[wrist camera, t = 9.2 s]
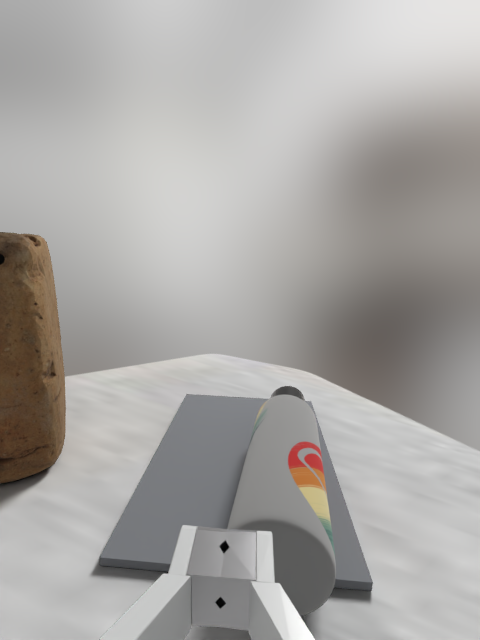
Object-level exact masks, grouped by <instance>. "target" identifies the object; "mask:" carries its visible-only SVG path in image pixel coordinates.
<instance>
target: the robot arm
mask: <svg viewBox="0 0 480 640" xmlns="http://www.w3.org/2000/svg"><path fill="white" fill-rule="evenodd" d="M191 626H208V627H222V628H230V629H238V630H246V631H249V635H250V637H251V640H315V639H314V637H313V636H312V634H311V632H310V631H309V629H308V628H307V626H306V625H305V623H304V621H303V620H302V618H301V617H300V615H299V613H298V612H297V610H296V609H295V607H294V605H293V604H292V602H291V601H290V599H289V597H288V596H287V594H286V593H285V591H284V590H283V588H282V586H281V585H280V583H275V577H274V557H273V536H272V532H270V531H256V530H239V529H221V528H211V527H202V526H189V525H183V526H182V528H181V530H180V533H179V537H178V540H177V544H176V547H175V551H174V554H173V557H172V561H171V564H170V568H169V571H168V574H162V575H161V576H160V577H159V578H158V579H157V580H156V581H155V582H154V583H153V584H152V585H151V587H150V588H149V589H148V590H147V591H146V592H145V593H144V594H143V595H142V596H141V597H140V598H139V599H138V600H137V601H136V602H135V603H134V604H133V605H132V606H131V607H130V608H129V609H128V610H127V611H126V612H125V613H124V614H123V615H122V616H121V617H120V618H119V619H118V620H117V621H116V622H115V623H114V624H113V625H112V626H111V628H110V629H109V630H108V631H107V632H106V633H105V634H104V635H103V636H102V637H101V638H100V639H99V640H184V639H185V637H186V636H187V634H188V632H189V631H190V629H191Z"/></svg>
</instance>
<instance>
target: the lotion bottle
mask: <svg viewBox="0 0 480 640" xmlns="http://www.w3.org/2000/svg"><path fill="white" fill-rule="evenodd" d="M227 529H239V530H256V531H270V532H272V536H273V557H274V577H275V583H280V585H281V586H282V588H283V590H284V591H285V593H286V594H287V596H288V597H289V599H290V601H291V602H292V604H293V605H294V607H295V609H296V610H297V612H298V613H299V615H300V616H302V615H306V614H309V613H311V612H313V611H315V610H317V609H318V608H319V607H321V606H322V605H323V604H324V603H325V602H326V601H327V599H328V598H329V596H330V595H331V593H332V591H333V588H334V585H335V578H336V562H335V552H334V543H333V535H332V528H331V521H330V514H329V506H328V499H327V492H326V485H325V478H324V471H323V464H322V456H321V449H320V442H319V435H318V428H317V422H316V418H315V415H314V413H313V411H312V409H311V408H310V406H309V405H308V404H307V403H306V402H305V399H304V396H303V394H302V393H301V392H300V391H299V390H298V389H297V388H295V387H291V386H285V387H281V388H279V389H277V390H276V391H274V393H273V394H272V396H271V398H270V399H268V400H267V401H266V402H265V403H264V404H263V405H262V406H261V408H260V409H259V412H258V414H257V418H256V421H255V425H254V429H253V432H252V436H251V440H250V444H249V447H248V451H247V455H246V459H245V463H244V466H243V470H242V474H241V478H240V481H239V485H238V489H237V493H236V497H235V500H234V504H233V508H232V512H231V516H230V520H229V524H228V528H227Z"/></svg>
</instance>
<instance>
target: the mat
mask: <svg viewBox="0 0 480 640" xmlns="http://www.w3.org/2000/svg"><path fill="white" fill-rule="evenodd" d="M267 400H268V399H260V398H243V397H226V396H209V395H191V394H187V395H186V396H185V398H184V400H183V402H182V404H181V406H180V408H179V410H178V411H177V413H176V415H175V417H174V419H173V421H172V423H171V425H170V426H169V428H168V430H167V432H166V434H165V436H164V438H163V440H162V441H161V443H160V445H159V447H158V449H157V451H156V453H155V455H154V456H153V458H152V460H151V462H150V464H149V466H148V468H147V469H146V471H145V473H144V475H143V477H142V479H141V481H140V483H139V484H138V486H137V488H136V490H135V492H134V494H133V496H132V498H131V499H130V501H129V503H128V505H127V507H126V509H125V511H124V513H123V514H122V516H121V518H120V520H119V522H118V524H117V526H116V528H115V529H114V531H113V533H112V535H111V537H110V539H109V541H108V543H107V544H106V546H105V548H104V550H103V552H102V554H101V556H100V565H101V566H111V567H122V568H133V569H143V570H154V571H165V572H168V571H169V568H170V564H171V561H172V557H173V554H174V551H175V547H176V544H177V540H178V537H179V533H180V530H181V528H182V526H183V525H189V526H202V527H211V528H221V529H227V528H228V524H229V520H230V516H231V512H232V508H233V504H234V500H235V497H236V493H237V489H238V485H239V481H240V478H241V474H242V470H243V466H244V463H245V459H246V455H247V451H248V447H249V444H250V440H251V436H252V432H253V429H254V425H255V421H256V418H257V414H258V412H259V409H260V408H261V406H262V405H263V404H264V403H265V402H266V401H267ZM305 402H306V403H307V404H308V405H309V406H310V408H311V409H312V411H313V413H314V415H315V412H314V409H313V406H312V403H311V401H305ZM315 418H316V415H315ZM316 422H317V428H318V435H319V442H320V449H321V456H322V464H323V471H324V478H325V485H326V492H327V499H328V506H329V514H330V521H331V528H332V535H333V543H334V552H335V562H336V578H335V585H334V587H335V588H346V589H356V590H367V591H371V590H372V584H373V582H372V579H371V576H370V573H369V570H368V567H367V564H366V561H365V559H364V556H363V553H362V550H361V547H360V544H359V541H358V538H357V535H356V532H355V529H354V526H353V523H352V520H351V517H350V515H349V512H348V509H347V506H346V503H345V500H344V497H343V494H342V491H341V488H340V485H339V482H338V479H337V476H336V473H335V470H334V468H333V465H332V462H331V459H330V456H329V453H328V450H327V447H326V444H325V441H324V438H323V435H322V432H321V429H320V426H319V424H318V421H317V418H316Z"/></svg>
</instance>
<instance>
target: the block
mask: <svg viewBox="0 0 480 640" xmlns="http://www.w3.org/2000/svg"><path fill="white" fill-rule="evenodd" d="M65 411H66V407H65V377H64V366H63V356H62V348H61V336H60V326H59V318H58V310H57V299H56V293H55V284H54V277H53V270H52V264H51V258H50V254H49V250H48V246H47V242H46V241H45V240H44V239H43V238H42V237H41V236H38V235H32V234H17V233H5V232H0V483H6V482H11V481H15V480H19V479H22V478H25V477H28V476H30V475H33V474H36V473H38V472H40V471H42V470H44V469H46V468H48V467H50V466H52V465H53V464H54V463H55V462H56V460H57V459H58V457H59V455H60V454H61V451H62V448H63V445H64V439H65Z"/></svg>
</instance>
